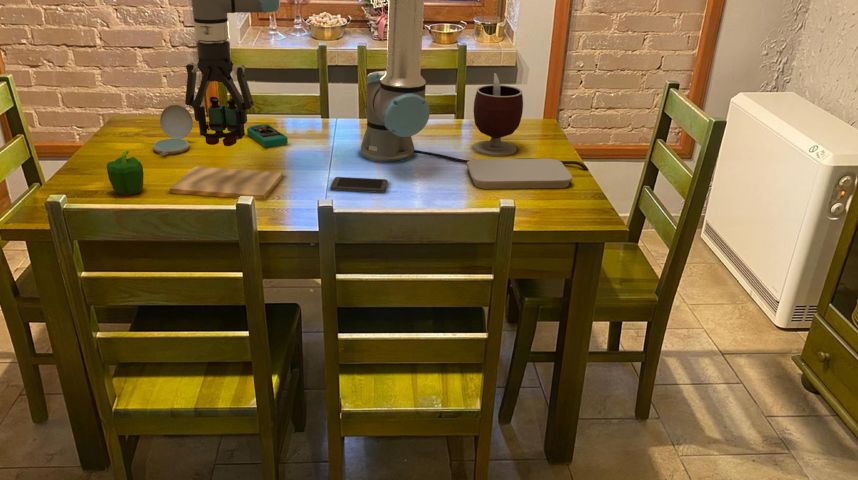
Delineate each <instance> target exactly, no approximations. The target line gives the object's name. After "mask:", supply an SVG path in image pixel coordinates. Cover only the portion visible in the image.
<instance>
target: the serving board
mask: <svg viewBox="0 0 858 480" xmlns="http://www.w3.org/2000/svg"><path fill="white" fill-rule="evenodd" d="M283 177H284V174H283V172H281V171H279V172H278V171H268V170H267V171H265V170H254V169H252V170H251V169H240V168H239V169H235V168H226V167H225V168H224V167H223V168H222V167H208V166H196V165H195V166H193V168H191V169H189V171H188V172H187V173H186V174H184V175H183V176H182V177H181V178H180V179H178V180H177V181H176V182H175V183H174V184H173V185H172V186H171V187H170V188H169V194H176V195H177V194H178V195H192V196H207V197H218V198H219V197H220V198H233V199H239V198H238V197H240V196H253V197H254V198H255V199H254V200H259V201H264V200H265V199H266V198H267V197H268V196H269V195H270V193H271V192H272V191H273V189H274V188H275V187H276V186H277V185H278V184H279V182H280V181H281V179H282V178H283Z"/></svg>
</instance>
